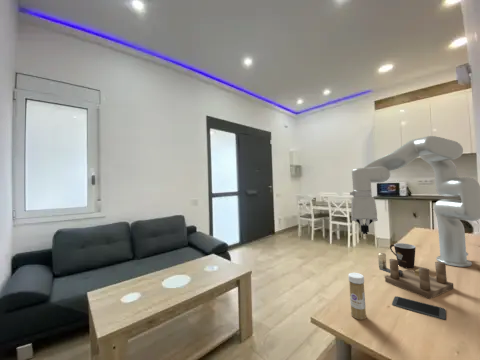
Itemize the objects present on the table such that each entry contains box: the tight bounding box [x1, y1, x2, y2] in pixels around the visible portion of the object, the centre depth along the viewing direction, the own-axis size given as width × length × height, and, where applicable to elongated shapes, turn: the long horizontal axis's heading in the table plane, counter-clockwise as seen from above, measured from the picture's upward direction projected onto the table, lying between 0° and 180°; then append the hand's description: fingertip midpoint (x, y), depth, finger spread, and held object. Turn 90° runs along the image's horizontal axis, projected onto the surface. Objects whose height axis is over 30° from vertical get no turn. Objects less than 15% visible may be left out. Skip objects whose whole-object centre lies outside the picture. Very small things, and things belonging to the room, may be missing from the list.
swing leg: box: [377, 252, 404, 277], centre depth 97 cm, size 10×3×7 cm, turn 23°
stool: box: [384, 258, 454, 300], centre depth 89 cm, size 16×16×10 cm
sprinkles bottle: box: [347, 272, 367, 320], centre depth 72 cm, size 5×5×14 cm
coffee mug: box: [389, 242, 417, 269], centre depth 110 cm, size 12×9×10 cm
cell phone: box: [391, 296, 447, 321], centre depth 74 cm, size 7×14×1 cm, turn 47°
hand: (365, 233), depth 102 cm, fingers closed
